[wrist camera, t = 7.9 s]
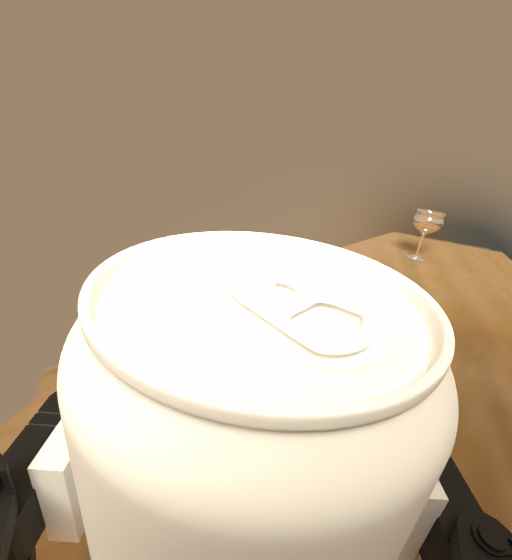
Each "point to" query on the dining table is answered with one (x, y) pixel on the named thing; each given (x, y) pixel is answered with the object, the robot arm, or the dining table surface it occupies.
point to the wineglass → (426, 227)
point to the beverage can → (254, 401)
